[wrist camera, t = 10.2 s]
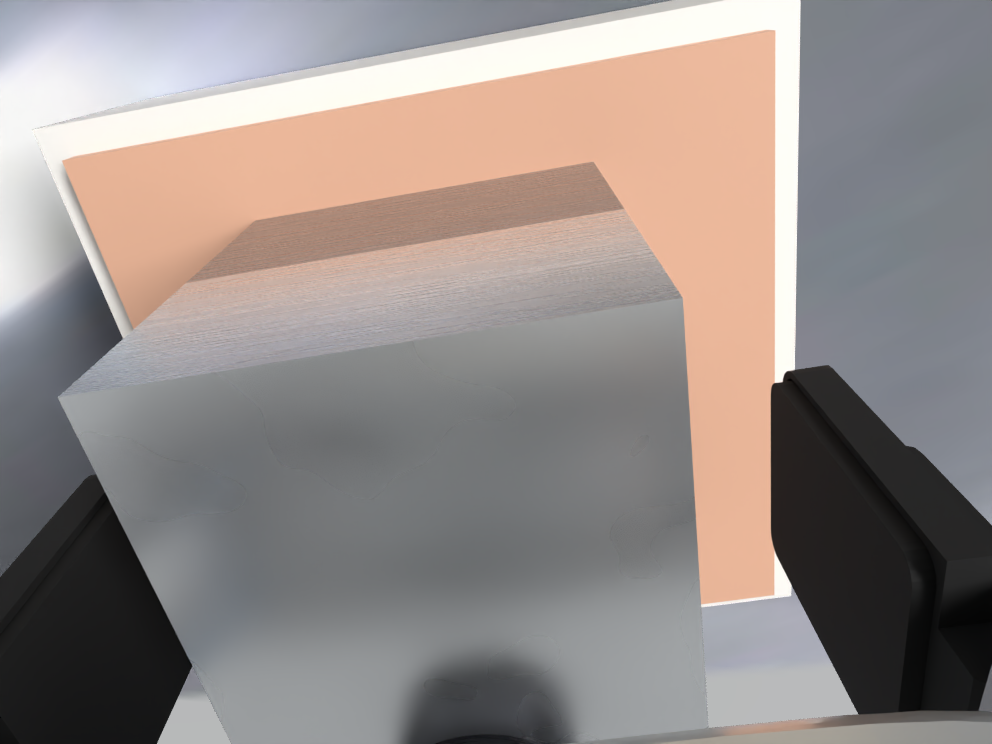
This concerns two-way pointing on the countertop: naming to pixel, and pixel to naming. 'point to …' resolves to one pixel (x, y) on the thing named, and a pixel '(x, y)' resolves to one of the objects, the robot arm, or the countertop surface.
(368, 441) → the housing
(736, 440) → the stand
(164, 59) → the countertop surface
